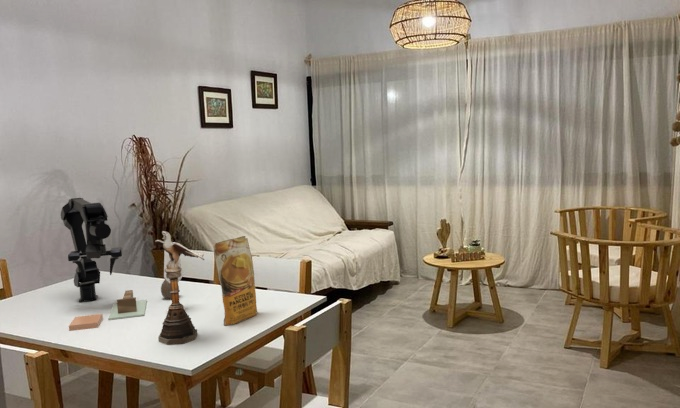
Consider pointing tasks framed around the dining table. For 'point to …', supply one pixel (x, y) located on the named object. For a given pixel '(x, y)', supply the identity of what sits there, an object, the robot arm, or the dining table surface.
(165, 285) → the vase
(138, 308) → the rest board
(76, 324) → the tile
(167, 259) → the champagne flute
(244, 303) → the pancake mix bag
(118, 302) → the brown wooden block
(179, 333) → the bird statue
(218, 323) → the dining table surface
